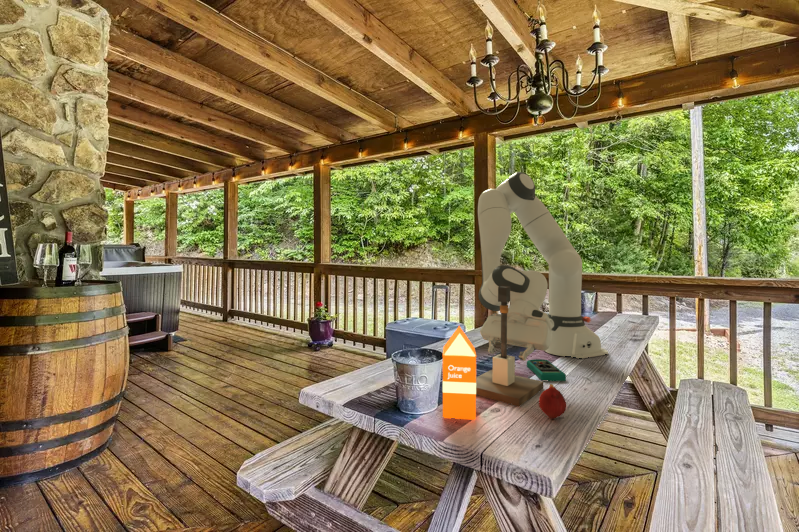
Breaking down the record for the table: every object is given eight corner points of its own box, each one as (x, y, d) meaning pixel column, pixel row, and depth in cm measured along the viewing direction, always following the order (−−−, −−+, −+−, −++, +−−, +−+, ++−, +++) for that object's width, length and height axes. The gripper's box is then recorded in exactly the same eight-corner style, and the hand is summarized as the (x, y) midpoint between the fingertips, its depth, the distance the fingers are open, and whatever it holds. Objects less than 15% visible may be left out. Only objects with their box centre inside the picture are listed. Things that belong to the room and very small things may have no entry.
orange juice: (442, 418, 87) (442, 332, 86) (443, 402, 96) (443, 324, 95) (476, 420, 86) (477, 332, 85) (474, 404, 94) (474, 325, 94)
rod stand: (490, 376, 115) (491, 283, 114) (543, 388, 105) (544, 286, 104) (463, 391, 103) (463, 287, 102) (519, 406, 93) (520, 291, 92)
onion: (569, 418, 86) (570, 384, 86) (560, 427, 82) (561, 391, 82) (544, 411, 90) (544, 378, 90) (534, 419, 86) (534, 384, 86)
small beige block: (499, 378, 107) (500, 353, 107) (514, 381, 104) (514, 356, 104) (492, 382, 104) (492, 357, 104) (507, 386, 101) (507, 360, 101)
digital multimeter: (548, 367, 126) (548, 358, 126) (566, 382, 111) (566, 372, 111) (525, 367, 126) (525, 358, 126) (541, 382, 111) (541, 373, 111)
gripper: (486, 306, 118) (469, 343, 112) (552, 314, 105) (538, 356, 98) (493, 318, 122) (477, 354, 115) (558, 328, 108) (544, 369, 101)
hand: (505, 355), depth 106 cm, fingers open, 8 cm apart
